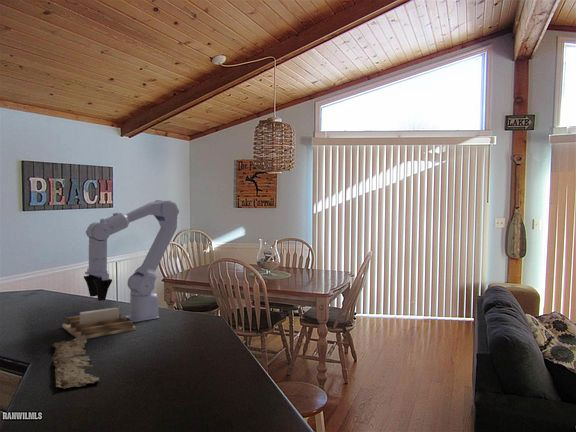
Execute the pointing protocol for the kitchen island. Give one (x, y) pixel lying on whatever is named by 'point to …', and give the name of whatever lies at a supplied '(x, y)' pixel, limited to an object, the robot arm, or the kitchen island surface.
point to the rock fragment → (72, 363)
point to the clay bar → (99, 315)
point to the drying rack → (97, 327)
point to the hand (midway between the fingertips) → (97, 298)
